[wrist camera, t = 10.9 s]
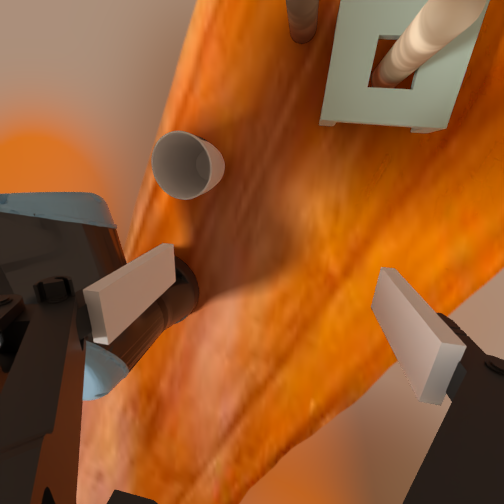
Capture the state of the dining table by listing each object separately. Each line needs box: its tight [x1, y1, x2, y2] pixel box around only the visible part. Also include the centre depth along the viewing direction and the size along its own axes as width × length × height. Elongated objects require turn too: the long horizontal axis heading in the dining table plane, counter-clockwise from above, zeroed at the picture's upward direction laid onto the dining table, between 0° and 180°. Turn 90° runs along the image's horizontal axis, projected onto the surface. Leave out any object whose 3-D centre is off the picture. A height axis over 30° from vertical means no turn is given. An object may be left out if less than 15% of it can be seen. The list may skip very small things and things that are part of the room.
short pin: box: [286, 0, 319, 44], centre depth 28 cm, size 3×3×7 cm
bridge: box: [319, 0, 490, 133], centre depth 29 cm, size 14×12×5 cm
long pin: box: [371, 0, 487, 88], centre depth 24 cm, size 3×3×16 cm
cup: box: [152, 131, 225, 200], centre depth 35 cm, size 8×8×10 cm
